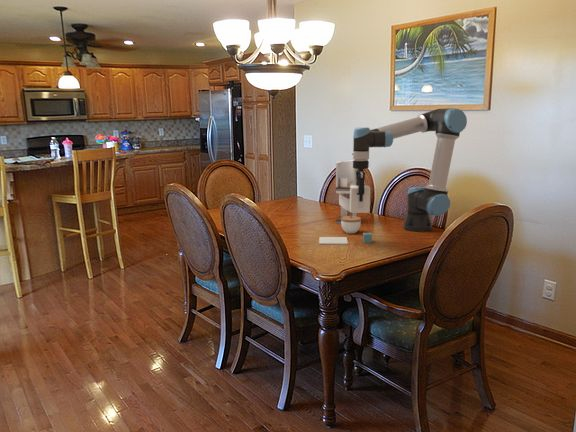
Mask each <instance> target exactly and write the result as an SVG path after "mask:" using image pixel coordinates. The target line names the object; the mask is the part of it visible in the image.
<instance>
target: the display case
mask: <svg viewBox="0 0 576 432" xmlns="http://www.w3.org/2000/svg"><path fill="white" fill-rule="evenodd" d="M353 161H354V160H353ZM353 161H349V160H348V161H344V160H339V161H337V162H336V163H335V193H336V194H338V204H339V206H340V215H339V216H337V218H336V219H335V224H339V225H341V217H344V216H350V215H352V216H357V215H358V213H351V212H350V185H351V186H356V171H357V170H358V169H355V168H353ZM357 217H358V216H357Z"/></svg>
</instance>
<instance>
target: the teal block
mask: <svg viewBox="0 0 576 432" xmlns="http://www.w3.org/2000/svg"><path fill="white" fill-rule="evenodd" d="M362 241H363V243H365V244H366V243H373V234H372V232H363V233H362Z"/></svg>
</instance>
